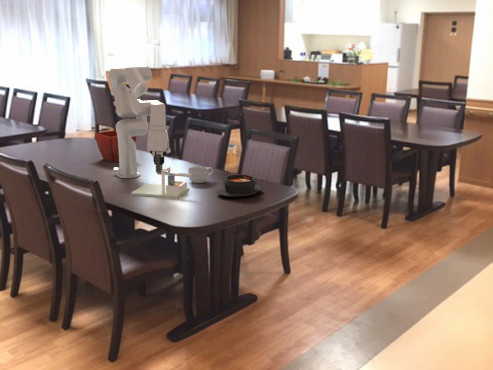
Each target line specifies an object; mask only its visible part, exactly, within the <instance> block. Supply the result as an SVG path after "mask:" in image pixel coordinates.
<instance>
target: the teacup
mask: <svg viewBox="0 0 493 370" xmlns="http://www.w3.org/2000/svg"><path fill="white" fill-rule="evenodd" d="M187 169H188V170H187V171H188V174H192V177H188V178H189V181H191V182H192V183H193V184H204V183H205V182H206V181H207V180H208V179H209V178H210V176H211V175H212V174H213V173H214V168H213V167H211V166H209V167H208V166H201V165H200V166H198V165H197V166H192V167H191V166H190V167H189V168H187ZM209 170H210V172H209Z"/></svg>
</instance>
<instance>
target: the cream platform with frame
mask: <svg viewBox="0 0 493 370" xmlns="http://www.w3.org/2000/svg"><path fill="white" fill-rule="evenodd" d="M171 170H172V169H171V166H166V167H164V168H163V170H161V174H162V175H161V184H156V183H145V184H142V186H140V187H138V188H137V189H135V190H133V191H131V196H137V197H138V196H140V197H148V198H149V197H150V198H161V199H162V198H163V199H172V200H174V199H175V200H177V199H179V198H180V197H181V196H183V195H184V194H185V193H187V192H188V191H189V190H190V186H188V182H187V181H186V180H185V181H184V180H176V179H175V184H176V183H177V184H179V186H169V185H168V184H166V183H165V182H166V179H165V177H166V175H165V172H172V171H171Z"/></svg>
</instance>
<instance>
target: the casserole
mask: <svg viewBox="0 0 493 370" xmlns="http://www.w3.org/2000/svg"><path fill="white" fill-rule="evenodd" d="M222 183H223V185H224V187H223V188H221V189H218V190H217V191H216V193H217V194H218V195H220V196H224V197H228V198H231V197H236V198H242V197H248V196H249V197H250V196H252V195H255V194H257V193H258V192H261V191H263V188H262V187H261V186H259V185H257V181H256V178H255V177H254V176H252V175H247V174H231V175H227V176H226V177H225V178H224V180H223V181H222Z"/></svg>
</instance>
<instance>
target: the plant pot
mask: <svg viewBox="0 0 493 370" xmlns="http://www.w3.org/2000/svg"><path fill="white" fill-rule="evenodd" d="M94 138H95V141H96V144H97V148H98V151H99V154H100V156H101V157H102V160H105V161H109V162H111V163H116V162H119V147H118V137H117V132H116V129H114V130H106V131H99V132H94ZM131 138H132V139H133V141H134V142H135V143H136V139H137V136H133V137H131Z"/></svg>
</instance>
